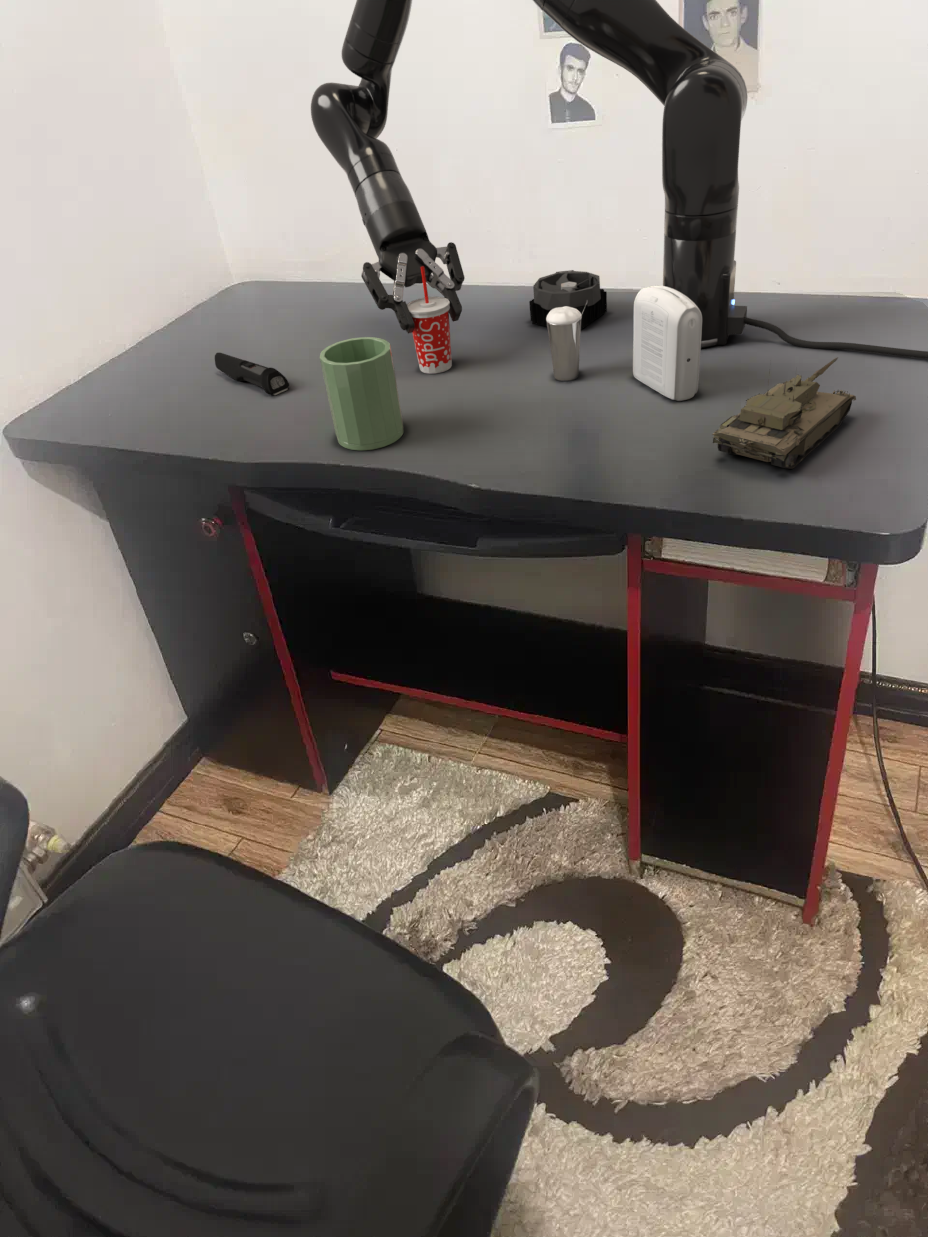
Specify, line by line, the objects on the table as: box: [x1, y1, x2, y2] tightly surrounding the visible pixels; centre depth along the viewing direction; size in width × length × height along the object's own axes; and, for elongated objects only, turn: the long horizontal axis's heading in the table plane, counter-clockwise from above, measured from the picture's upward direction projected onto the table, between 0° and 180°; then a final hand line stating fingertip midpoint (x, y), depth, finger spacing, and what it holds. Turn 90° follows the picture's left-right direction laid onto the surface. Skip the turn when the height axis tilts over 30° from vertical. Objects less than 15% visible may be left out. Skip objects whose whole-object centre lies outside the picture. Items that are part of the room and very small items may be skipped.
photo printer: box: [632, 284, 702, 402], centre depth 113 cm, size 10×4×12 cm, turn 25°
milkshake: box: [546, 300, 588, 382], centre depth 120 cm, size 4×5×10 cm
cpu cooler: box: [528, 269, 608, 329], centre depth 138 cm, size 10×6×10 cm
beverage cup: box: [406, 266, 453, 374], centre depth 126 cm, size 6×6×14 cm
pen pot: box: [319, 336, 405, 451], centre depth 112 cm, size 8×8×11 cm
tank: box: [711, 356, 857, 470], centre depth 100 cm, size 9×22×10 cm, turn 138°
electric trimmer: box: [214, 352, 290, 396], centre depth 133 cm, size 4×16×3 cm, turn 44°
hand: (434, 323), depth 125 cm, fingers closed on beverage cup, 6 cm apart
